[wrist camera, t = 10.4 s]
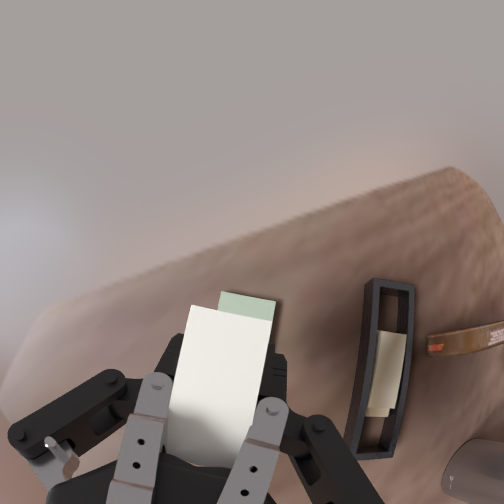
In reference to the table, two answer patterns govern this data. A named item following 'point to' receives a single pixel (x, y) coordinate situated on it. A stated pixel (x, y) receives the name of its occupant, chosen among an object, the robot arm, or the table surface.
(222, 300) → the board
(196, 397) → the white rectangular block
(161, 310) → the table surface
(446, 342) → the tin
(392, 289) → the frame
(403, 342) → the offcut stack
